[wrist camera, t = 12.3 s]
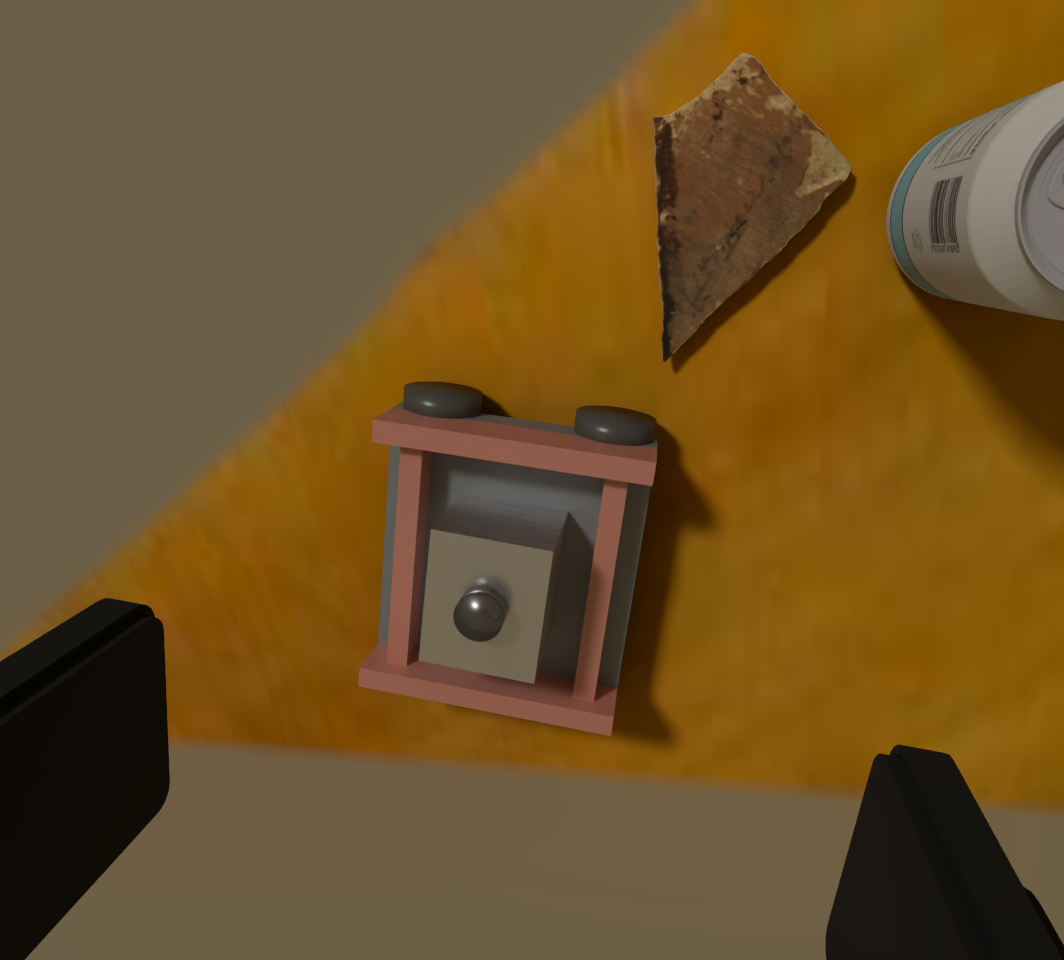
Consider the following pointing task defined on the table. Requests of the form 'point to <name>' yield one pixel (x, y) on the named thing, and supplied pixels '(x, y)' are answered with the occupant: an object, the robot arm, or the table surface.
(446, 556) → the cube with metal knob
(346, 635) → the table surface
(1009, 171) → the beverage can
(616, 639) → the chassis
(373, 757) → the table surface
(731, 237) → the shard
